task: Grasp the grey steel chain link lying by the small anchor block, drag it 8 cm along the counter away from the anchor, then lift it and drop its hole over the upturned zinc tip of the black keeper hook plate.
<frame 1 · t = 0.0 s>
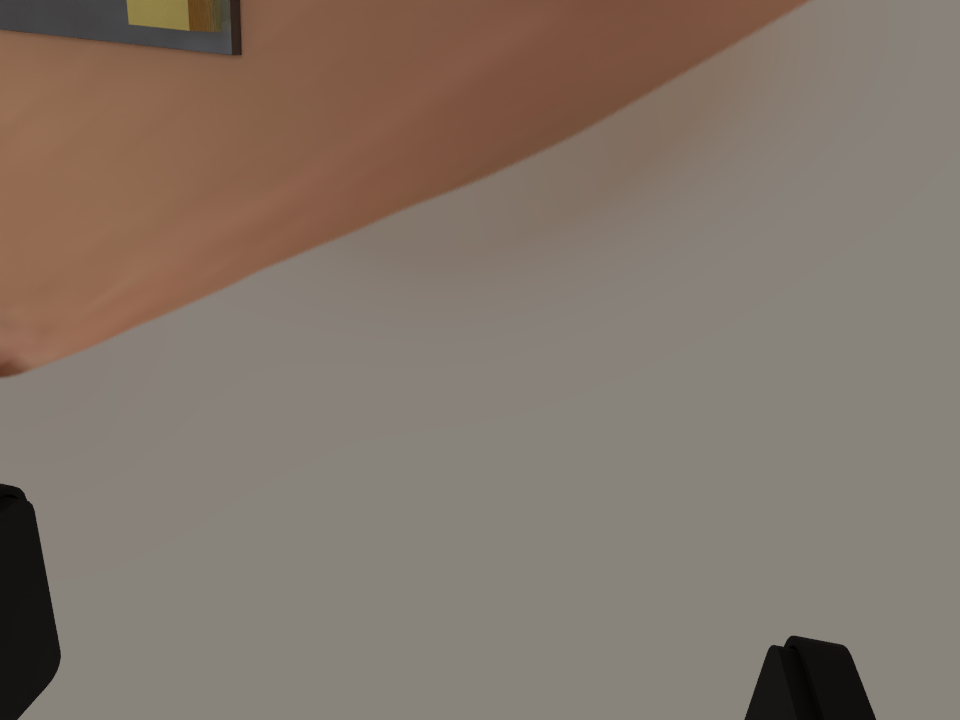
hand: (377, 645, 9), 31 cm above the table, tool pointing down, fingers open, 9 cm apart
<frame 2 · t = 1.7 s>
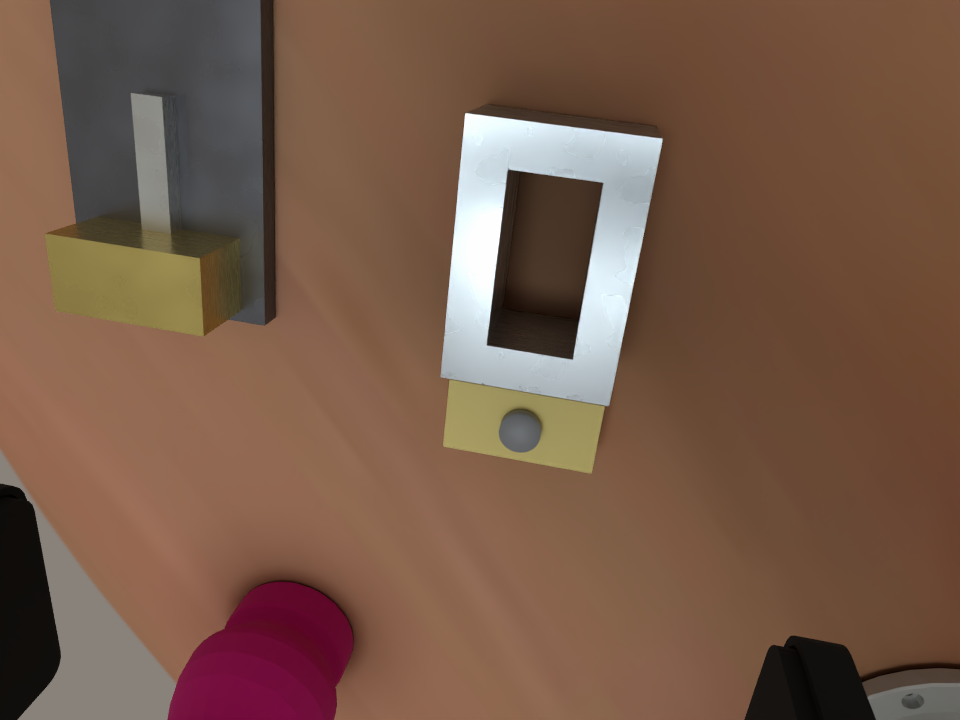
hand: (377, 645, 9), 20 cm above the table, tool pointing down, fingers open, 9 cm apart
link: (551, 239, 28), on the table
anchor: (527, 404, 30), on the table
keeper: (171, 49, 27), on the table
pepper mill: (297, 626, 38), on the table
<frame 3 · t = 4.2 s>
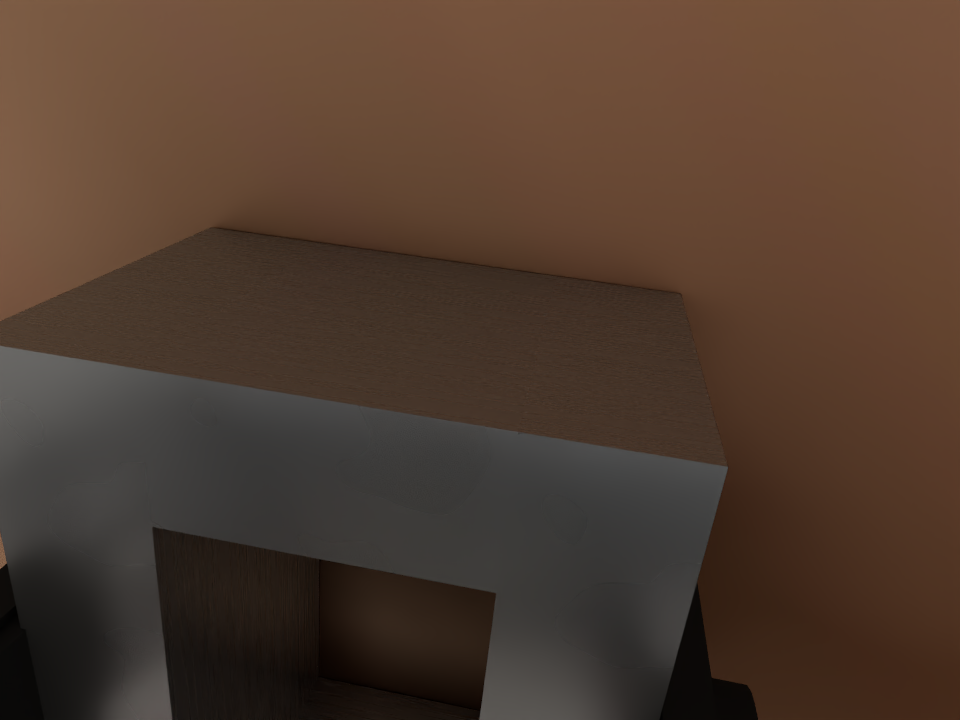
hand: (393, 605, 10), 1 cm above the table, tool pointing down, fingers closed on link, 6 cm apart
link: (415, 549, 11), on the table, touching gripper
when the fingers open (4 cm above the table, at t = 11.0 s): link drops 2 cm, resting on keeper.
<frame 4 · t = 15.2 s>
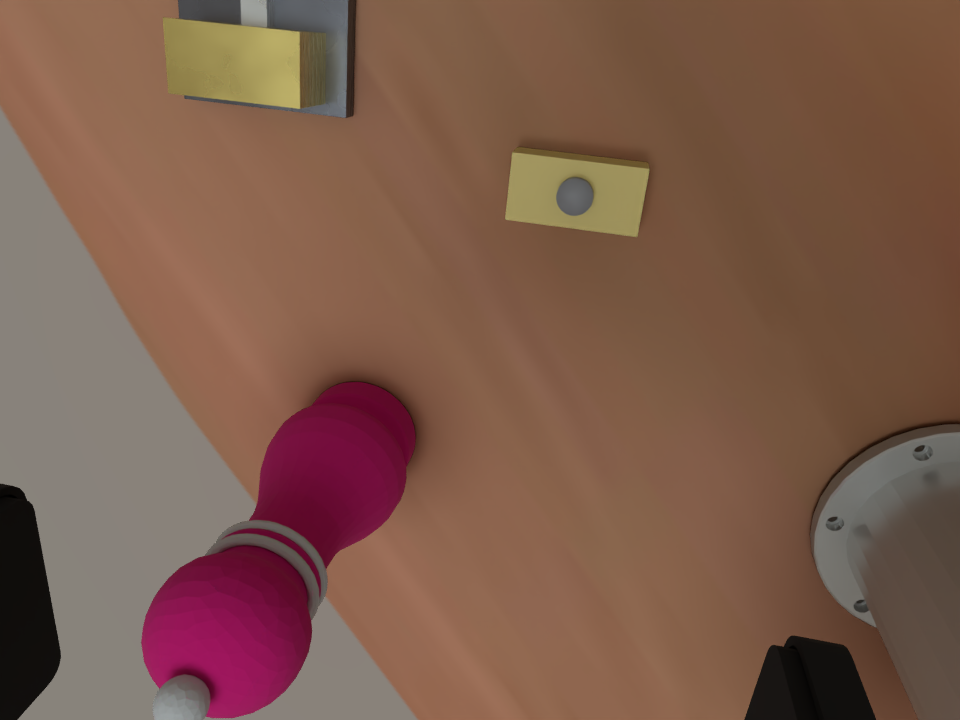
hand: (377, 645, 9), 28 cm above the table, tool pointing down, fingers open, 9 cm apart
anchor: (577, 187, 34), on the table
pepper mill: (364, 428, 42), on the table
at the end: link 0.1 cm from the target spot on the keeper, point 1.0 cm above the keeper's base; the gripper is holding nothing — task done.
